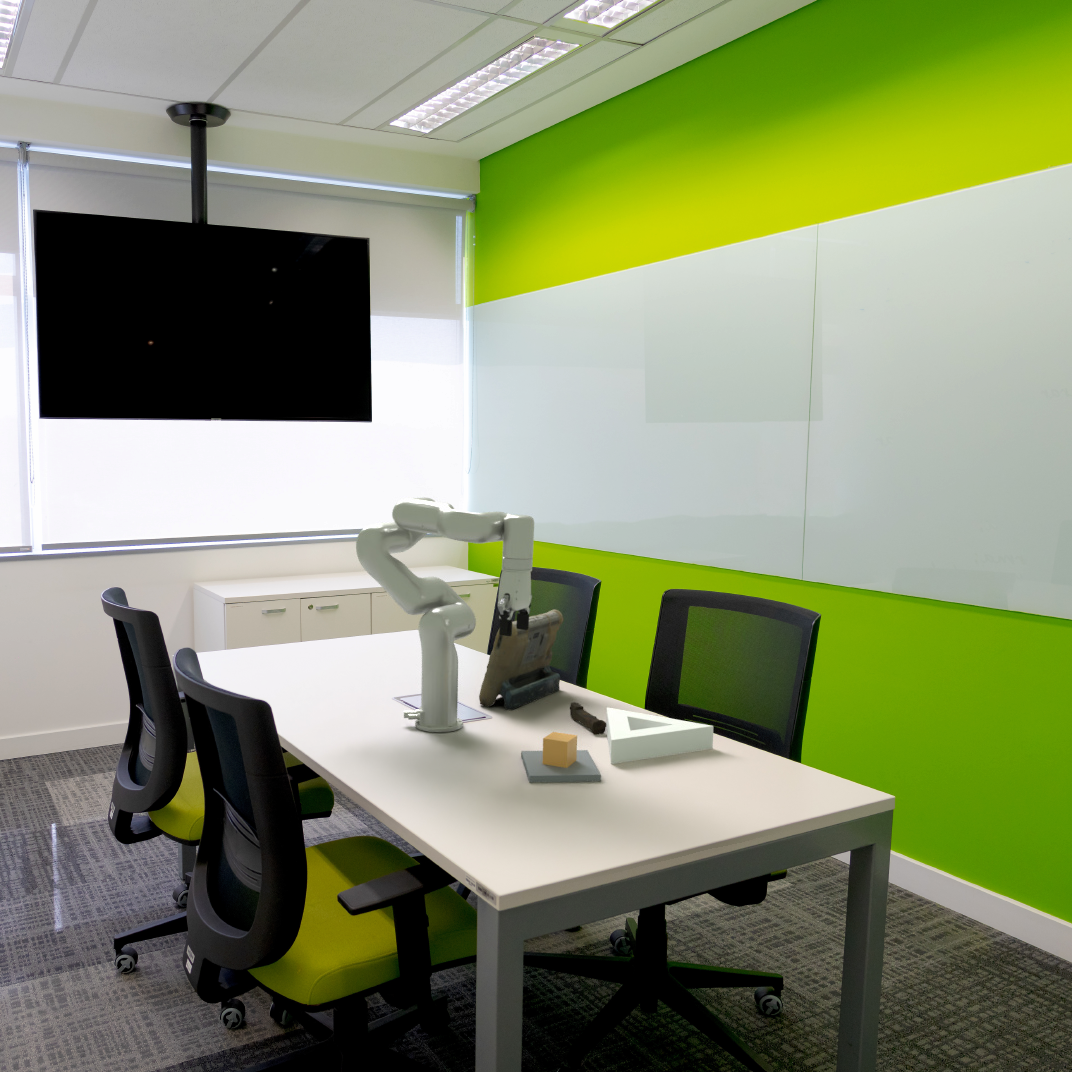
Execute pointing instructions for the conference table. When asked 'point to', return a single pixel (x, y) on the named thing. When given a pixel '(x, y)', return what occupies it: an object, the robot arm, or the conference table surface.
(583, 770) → the peg board
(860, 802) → the conference table surface
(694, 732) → the triangle block
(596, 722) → the brown piece
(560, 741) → the orange cube
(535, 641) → the tablet
